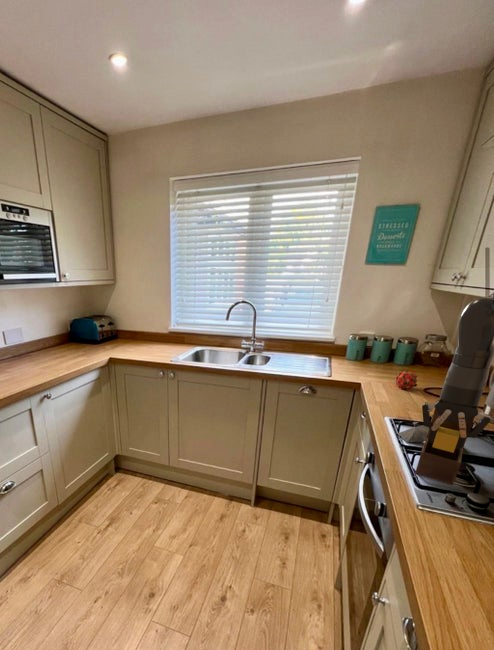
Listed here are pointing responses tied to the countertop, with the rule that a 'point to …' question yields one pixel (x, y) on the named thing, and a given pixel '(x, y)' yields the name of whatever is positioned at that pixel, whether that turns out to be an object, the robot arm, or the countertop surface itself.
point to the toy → (446, 439)
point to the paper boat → (415, 434)
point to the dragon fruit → (406, 380)
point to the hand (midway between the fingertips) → (443, 445)
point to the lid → (450, 424)
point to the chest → (439, 463)
